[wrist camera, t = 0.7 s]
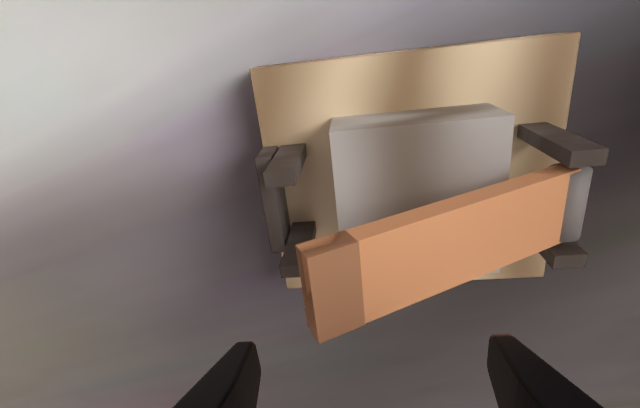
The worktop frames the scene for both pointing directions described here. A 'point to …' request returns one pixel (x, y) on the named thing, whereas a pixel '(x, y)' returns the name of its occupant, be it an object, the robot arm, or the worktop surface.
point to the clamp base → (412, 85)
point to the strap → (436, 247)
